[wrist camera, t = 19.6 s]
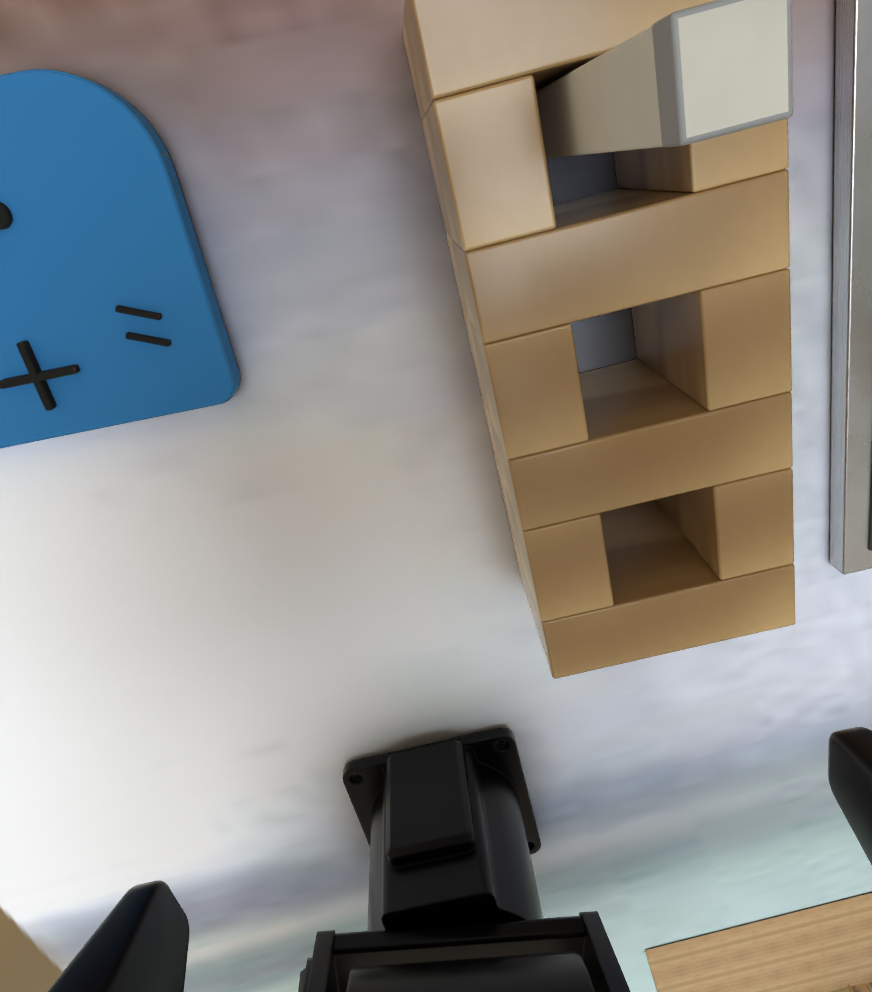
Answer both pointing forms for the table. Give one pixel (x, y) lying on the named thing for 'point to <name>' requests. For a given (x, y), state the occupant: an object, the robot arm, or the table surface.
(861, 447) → the tablet
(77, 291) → the handheld gaming device
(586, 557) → the pen stand
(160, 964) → the robot arm
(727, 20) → the grey square stick
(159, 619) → the table surface
